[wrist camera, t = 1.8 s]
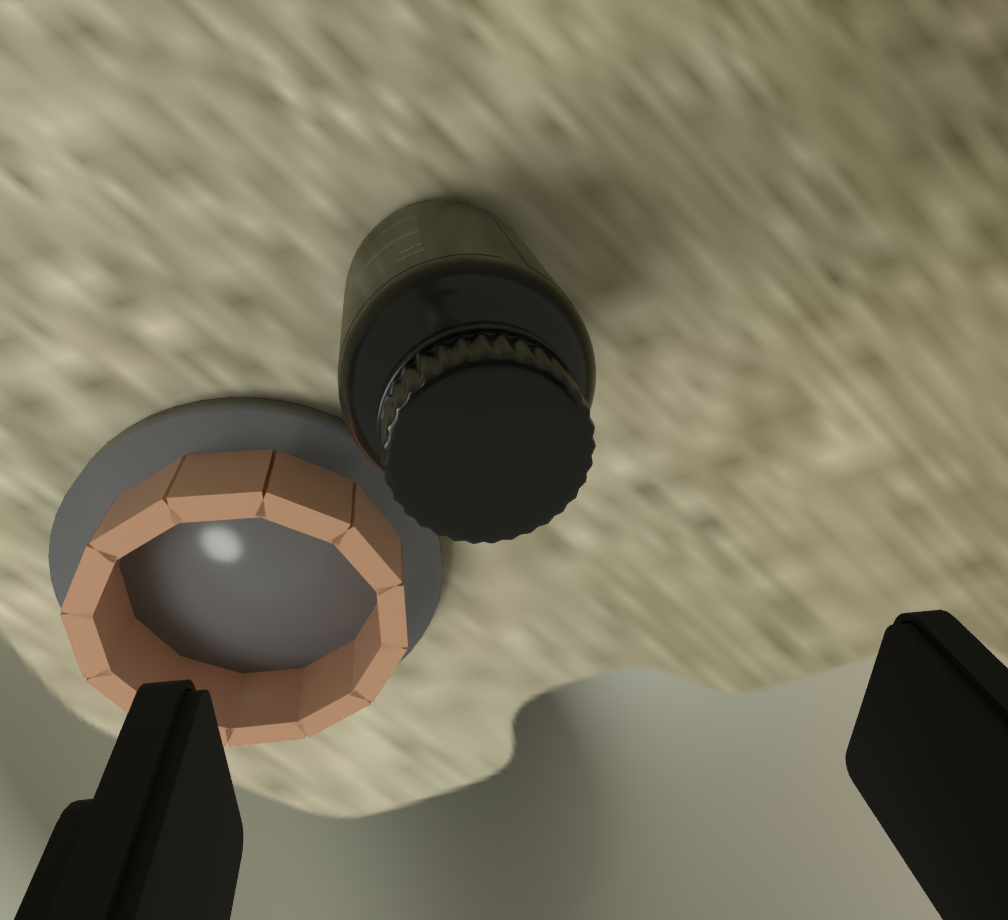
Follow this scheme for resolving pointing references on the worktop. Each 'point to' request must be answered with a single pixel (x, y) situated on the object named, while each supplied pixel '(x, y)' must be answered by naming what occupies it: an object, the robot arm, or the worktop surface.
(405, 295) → the supplement bottle
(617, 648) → the worktop surface
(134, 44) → the worktop surface
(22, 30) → the worktop surface
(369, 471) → the bottle holder
